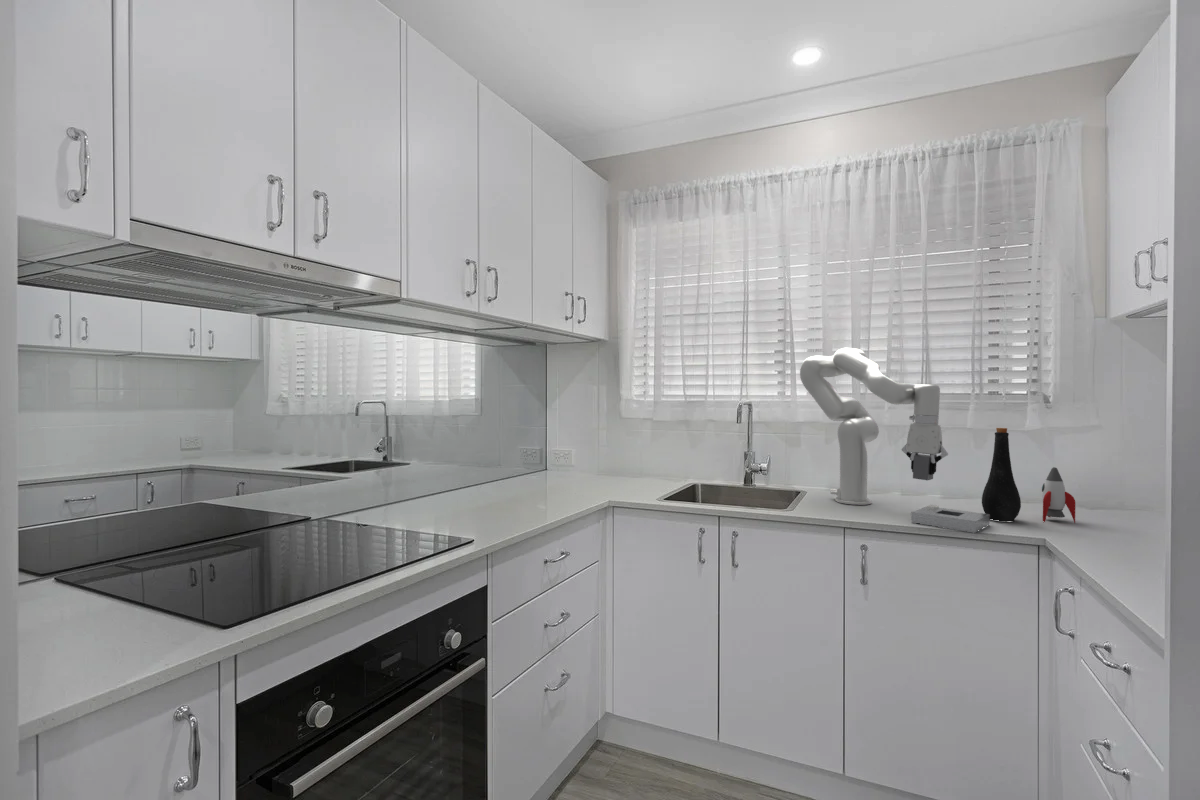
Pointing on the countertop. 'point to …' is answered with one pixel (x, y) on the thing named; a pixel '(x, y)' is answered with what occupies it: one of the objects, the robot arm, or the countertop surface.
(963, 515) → the socket plate
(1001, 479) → the bottle
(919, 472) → the plug
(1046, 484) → the toy
